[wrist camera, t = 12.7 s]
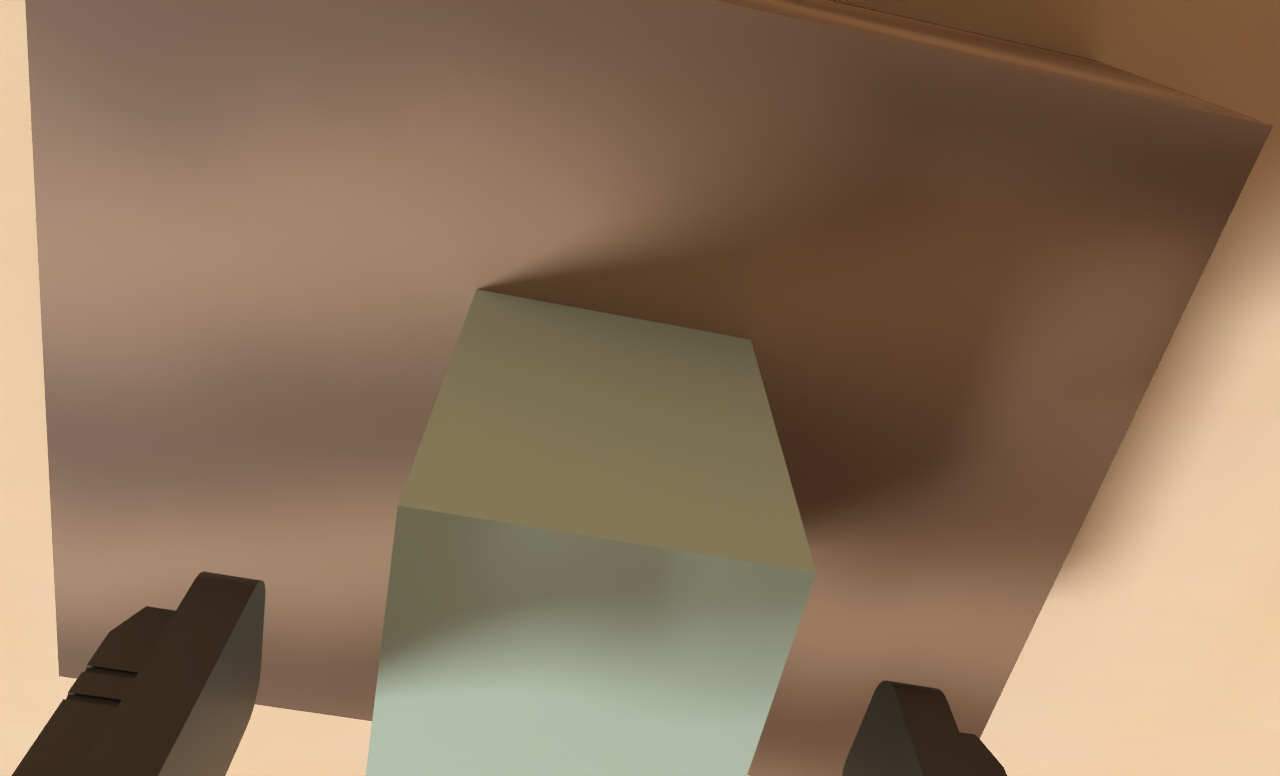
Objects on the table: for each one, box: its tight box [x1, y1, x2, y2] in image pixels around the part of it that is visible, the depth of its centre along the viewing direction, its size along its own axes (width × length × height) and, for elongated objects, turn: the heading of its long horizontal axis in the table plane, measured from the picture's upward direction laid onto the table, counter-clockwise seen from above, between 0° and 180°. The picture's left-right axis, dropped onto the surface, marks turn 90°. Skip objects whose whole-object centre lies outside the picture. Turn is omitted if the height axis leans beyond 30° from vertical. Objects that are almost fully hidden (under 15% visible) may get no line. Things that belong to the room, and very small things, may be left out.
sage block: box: [366, 289, 816, 776], centre depth 16 cm, size 5×5×7 cm
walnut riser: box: [25, 0, 1272, 776], centre depth 22 cm, size 16×20×7 cm
